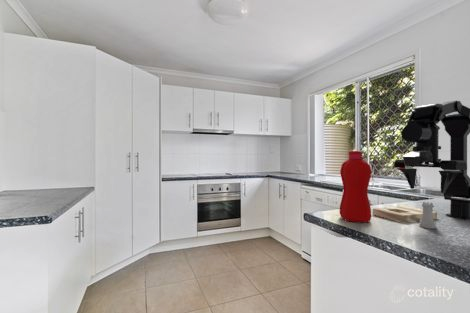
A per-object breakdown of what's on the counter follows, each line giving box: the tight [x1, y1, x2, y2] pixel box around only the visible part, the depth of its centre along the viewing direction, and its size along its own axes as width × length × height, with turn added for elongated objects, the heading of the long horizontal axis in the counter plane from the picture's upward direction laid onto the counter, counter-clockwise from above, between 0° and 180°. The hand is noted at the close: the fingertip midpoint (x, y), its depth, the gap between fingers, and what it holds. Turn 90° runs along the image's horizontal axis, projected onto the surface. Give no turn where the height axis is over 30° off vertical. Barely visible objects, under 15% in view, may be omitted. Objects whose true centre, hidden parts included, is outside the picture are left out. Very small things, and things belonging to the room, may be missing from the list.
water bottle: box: [339, 150, 374, 223], centre depth 86 cm, size 9×11×25 cm
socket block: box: [371, 205, 438, 224], centre depth 91 cm, size 18×12×2 cm, turn 109°
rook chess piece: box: [418, 201, 437, 230], centre depth 78 cm, size 4×4×8 cm
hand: (426, 190), depth 78 cm, fingers open, 9 cm apart
